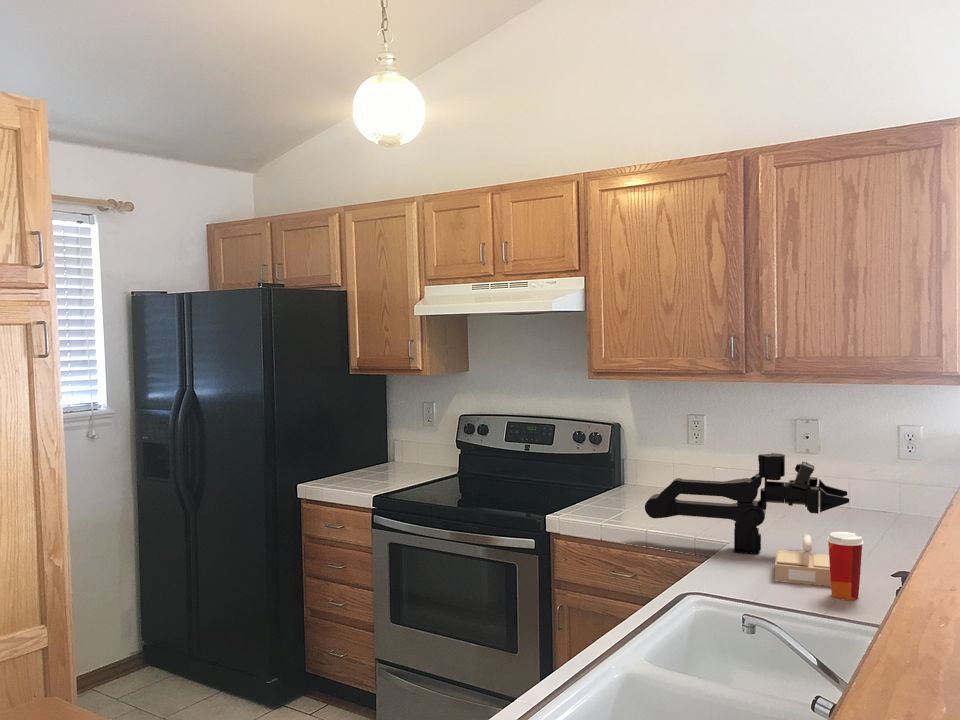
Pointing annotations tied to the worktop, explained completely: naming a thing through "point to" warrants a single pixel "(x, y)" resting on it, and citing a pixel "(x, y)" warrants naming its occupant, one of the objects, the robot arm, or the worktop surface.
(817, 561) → the carton
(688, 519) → the worktop surface
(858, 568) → the paper cup
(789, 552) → the flap
